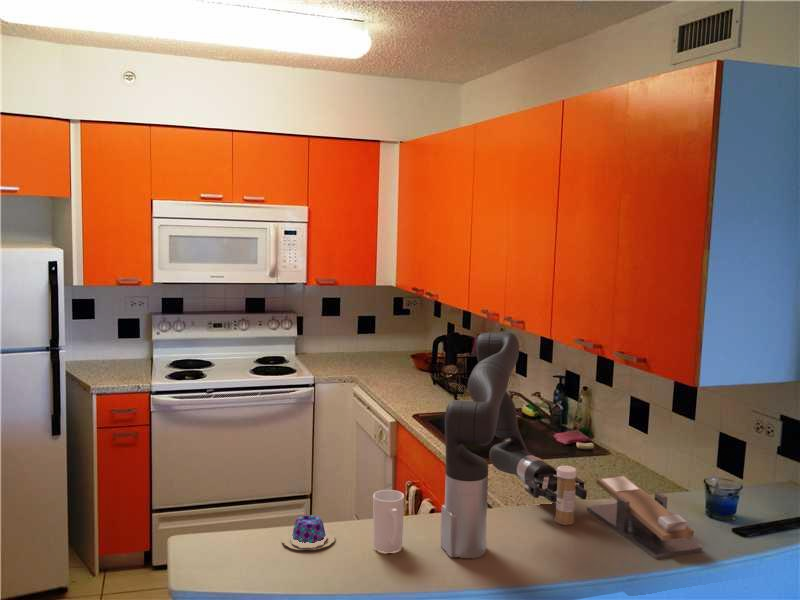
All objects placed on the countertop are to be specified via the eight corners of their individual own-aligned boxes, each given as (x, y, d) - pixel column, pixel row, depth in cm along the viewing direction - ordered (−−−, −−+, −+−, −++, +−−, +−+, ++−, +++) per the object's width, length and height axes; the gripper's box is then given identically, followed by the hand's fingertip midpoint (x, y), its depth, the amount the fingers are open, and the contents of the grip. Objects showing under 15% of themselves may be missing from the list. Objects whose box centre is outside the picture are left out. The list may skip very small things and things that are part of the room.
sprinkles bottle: (552, 518, 176) (554, 464, 174) (570, 517, 176) (572, 464, 175) (558, 526, 171) (560, 471, 170) (577, 525, 172) (579, 471, 170)
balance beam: (661, 540, 156) (663, 527, 155) (595, 482, 180) (597, 471, 179) (693, 536, 158) (696, 523, 158) (624, 479, 182) (626, 468, 182)
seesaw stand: (656, 559, 155) (657, 523, 154) (586, 510, 181) (588, 479, 180) (701, 551, 159) (704, 517, 158) (627, 505, 184) (629, 475, 183)
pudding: (346, 540, 163) (346, 518, 162) (309, 559, 153) (309, 536, 153) (308, 526, 170) (308, 504, 169) (270, 543, 161) (270, 521, 160)
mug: (369, 542, 161) (370, 491, 160) (398, 539, 163) (399, 488, 161) (380, 563, 151) (381, 508, 150) (411, 559, 153) (412, 505, 152)
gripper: (512, 462, 184) (544, 484, 168) (561, 457, 188) (597, 479, 173) (511, 490, 185) (542, 515, 169) (560, 485, 189) (595, 509, 173)
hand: (570, 497), depth 171 cm, fingers open, 7 cm apart
